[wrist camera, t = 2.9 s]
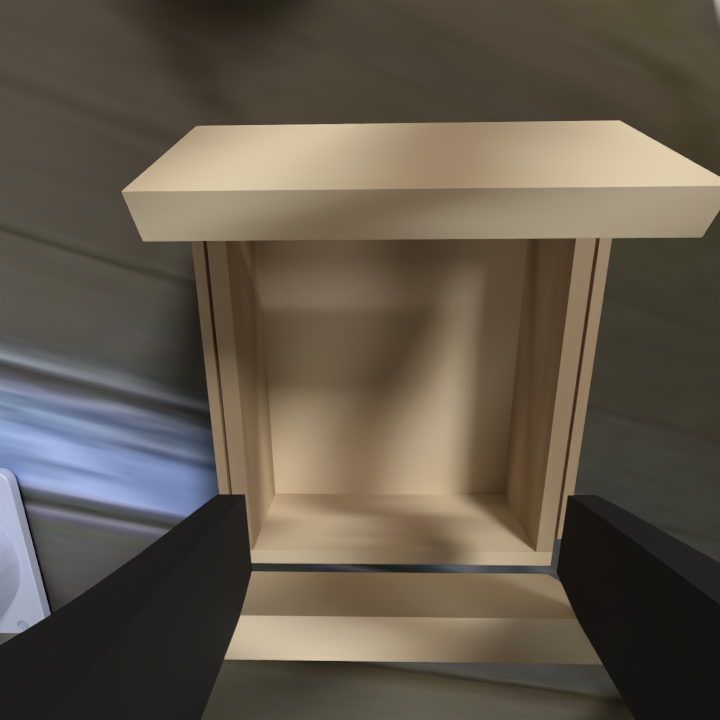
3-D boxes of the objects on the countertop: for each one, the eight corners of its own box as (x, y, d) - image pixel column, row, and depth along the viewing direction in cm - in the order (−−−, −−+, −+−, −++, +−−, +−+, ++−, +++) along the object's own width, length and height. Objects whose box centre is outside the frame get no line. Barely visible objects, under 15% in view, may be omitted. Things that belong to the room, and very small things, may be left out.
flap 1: (143, 241, 6) (121, 191, 6) (207, 165, 9) (196, 125, 8) (702, 236, 6) (735, 186, 6) (603, 161, 9) (619, 120, 8)
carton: (256, 498, 16) (226, 562, 13) (230, 182, 13) (182, 155, 10) (520, 499, 16) (562, 565, 12) (556, 179, 13) (624, 150, 9)
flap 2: (246, 571, 12) (243, 601, 12) (195, 614, 8) (190, 658, 8) (546, 573, 12) (550, 604, 11) (624, 619, 8) (630, 664, 8)
